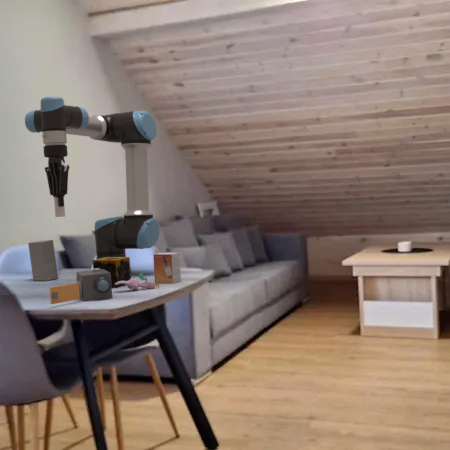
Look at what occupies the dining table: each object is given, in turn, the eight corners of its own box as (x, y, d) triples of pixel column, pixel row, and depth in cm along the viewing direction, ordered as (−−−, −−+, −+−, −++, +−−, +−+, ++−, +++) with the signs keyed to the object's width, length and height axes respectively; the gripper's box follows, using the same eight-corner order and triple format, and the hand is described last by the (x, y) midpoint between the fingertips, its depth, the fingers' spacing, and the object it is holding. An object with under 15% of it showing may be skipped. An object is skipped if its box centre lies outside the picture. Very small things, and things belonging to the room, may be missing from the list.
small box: (154, 283, 237) (152, 254, 237) (163, 280, 242) (161, 252, 242) (173, 283, 233) (171, 254, 233) (181, 281, 238) (179, 252, 238)
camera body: (77, 295, 217) (75, 269, 217) (105, 292, 221) (103, 266, 220) (84, 302, 204) (82, 274, 204) (113, 298, 207) (111, 271, 207)
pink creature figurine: (155, 290, 229) (112, 288, 223) (156, 273, 229) (114, 270, 223) (160, 293, 223) (116, 290, 217) (161, 275, 223) (118, 272, 217)
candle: (92, 288, 234) (90, 260, 233) (107, 283, 243) (105, 256, 243) (118, 288, 230) (116, 259, 230) (131, 283, 240) (130, 256, 239)
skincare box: (58, 278, 264) (55, 239, 263) (44, 281, 259) (41, 241, 258) (44, 278, 269) (42, 239, 268) (30, 280, 264) (27, 241, 263)
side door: (81, 298, 207) (79, 281, 206) (84, 298, 205) (83, 281, 205) (50, 304, 198) (49, 286, 198) (54, 304, 197) (52, 286, 197)
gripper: (35, 146, 219) (40, 217, 220) (53, 143, 209) (59, 217, 210) (56, 146, 223) (61, 215, 225) (75, 143, 214) (80, 215, 215)
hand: (60, 216), depth 217 cm, fingers closed
